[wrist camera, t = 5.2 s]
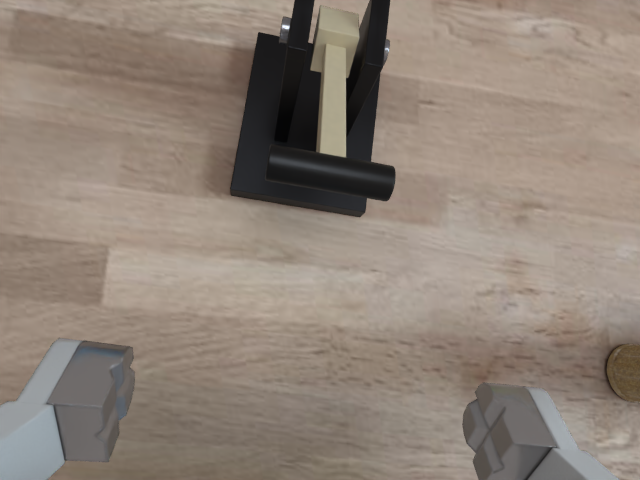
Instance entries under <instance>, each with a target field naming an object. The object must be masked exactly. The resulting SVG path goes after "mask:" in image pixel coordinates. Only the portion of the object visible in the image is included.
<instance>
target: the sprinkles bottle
mask: <svg viewBox="0 0 640 480" xmlns="http://www.w3.org/2000/svg"><path fill="white" fill-rule="evenodd" d="M607 375H608V378H609V382H610V384H611V386H612V388H613V390H614V391H615V392H616V394H618V395H619V396H620V397H621V398H623V399H625V400H627V401H630V402H635V403H640V345H636V344H624V345H621V346H619V347H618V348H616V349H615V350H614V351H613V352H612V354H611V355H610V357H609V359H608V364H607Z"/></svg>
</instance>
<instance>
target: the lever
mask: <svg viewBox="0 0 640 480" xmlns="http://www.w3.org/2000/svg"><path fill="white" fill-rule="evenodd" d="M358 41H359V17H358V14H357V13H352V12H348V11H343V10H339V9H335V8H330V7H326V6H320V8H319V14H318V19H317V24H316V29H315V34H314V39H313V44H312V53H311V64H310V70H312V71H317V72H321V86H320V101H319V116H318V132H317V147H316V152H314V151H308V150H303V149H297V148H292V147H286V146H281V145H275V144H271V145H270V149H269V155H268V162H267V168H266V175H265V180H266V181H271V182H277V183H283V184H289V185H294V186H300V187H306V188H312V189H317V190H323V191H329V192H335V193H341V194H346V195H352V196H358V197H364V198H369V199H375V200H381V201H388V200H389V198H390V197H391V194H392V192H393V189H394V184H395V168H394V167H393V166H390V165H384V164H379V163H373V162H368V161H362V160H357V159H352V158H346V78H348V77H349V74H350V70H351V66H352V63H353V59H354V55H355V52H356V48H357V44H358Z"/></svg>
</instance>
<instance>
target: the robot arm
mask: <svg viewBox="0 0 640 480" xmlns="http://www.w3.org/2000/svg"><path fill="white" fill-rule="evenodd" d="M133 359H134V355H133V347H130V346H122V345H115V344H107V343H99V342H91V341H82V340H73V339H65V338H58V339H57V340H56V341H55V342H54V343H52V345H51V346H50V348H49V350H48V351H47V353H46V354H45V356H44V357H43V359H42V361H41V362H40V364H39V365H38V367H37V368H36V370H35V372H34V373H33V375H32V376H31V378H30V379H29V381H28V383H27V384H26V386H25V387H24V389H23V390H22V392H21V394H20V395H19V397H18V398H17V400H16V401H7V402H5V403H4V404H2V405H0V480H47V479H48V478H49V477H50V476H51V475H53V474H54V473H55V472H56V471H57V470H58V469H59V468H60V467H61V466H62V465H63V464H64V463H65V460H68V461H90V462H109V459H110V456H111V454H112V451H113V449H114V446H115V443H116V441H117V438H118V436H119V420H120V419H121V418H123V417H124V416H125V415H126V414H127V412H128V409H129V406H130V403H131V399H132V395H133V391H134V383H135V372H134V371H133V370H132V369H131V368H130V366H131V364H132V361H133ZM475 394H476V397H477V399H476V400H474V401H473V402H471V403H469V404H468V405H467V407H466V409H465V411H464V414H463V424H462V425H463V432H464V436H465V439H466V443H467V444H468V445H469V446H470V447H471V448H472V449H473V451H474V452H475V453H476V454H475V456H474V459H473V464H474V467H475V470H476V473H477V476H478V479H479V480H619V479H618V478H617V477H616V476H615V475H613V474H612V473H611V472H610V471H609V470H608V469H606V468H605V467H604V466H603V465H602V464H601V463H599V462H598V461H597V460H596V459H595V458H594V457H592V456H591V455H590V454H589V453H588V452H587V451H583V450H579V448H578V446H577V444H576V442H575V441H574V439H573V437H572V435H571V433H570V432H569V430H568V428H567V426H566V424H565V422H564V421H563V419H562V417H561V415H560V413H559V412H558V410H557V408H556V406H555V404H554V403H553V401H552V399H551V397H550V395H549V394H548V392H547V391H545V390H544V389H543V388H535V387H525V386H517V385H506V384H495V383H482V384H480V385H479V386H478V388H477V389H476V391H475Z"/></svg>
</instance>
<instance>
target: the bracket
mask: <svg viewBox="0 0 640 480" xmlns="http://www.w3.org/2000/svg"><path fill="white" fill-rule="evenodd" d="M313 6H314V0H295V2H294V8H293V14H292V18H288V17H283V19H282V24H281V31H280V37H279V36H274V35H270V34H265V33H260V32H259V33H258V37H257V43H256V49H255V54H254V60H253V65H252V71H251V77H250V82H249V88H248V93H247V99H246V104H245V110H244V116H243V121H242V127H241V132H240V138H239V144H238V149H237V155H236V160H235V166H234V172H233V177H232V183H231V188H230V189H231V195H232V196H238V197H244V198H250V199H256V200H262V201H268V202H274V203H280V204H286V205H292V206H298V207H304V208H310V209H316V210H322V211H328V212H334V213H340V214H346V215H352V216H358V217H361V216H362V215H363V214H364V213H365V211H366V201H367V198H364V197H358V196H352V195H346V194H341V193H335V192H329V191H323V190H317V189H312V188H306V187H300V186H294V185H289V184H283V183H277V182H271V181H266V180H265V175H266V168H267V162H268V155H269V149H270V145H271V144H275V145H281V146H286V147H292V148H297V149H303V150H308V151H314V152H316V147H317V132H318V116H319V101H320V86H321V72H317V71H312V70H310V64H311V53H312V44H311V43H308V40H309V33H310V26H311V20H312V13H313ZM389 6H390V0H370V1H369V4H368V6H367V9H366V12H365V14H364V17H363V20H362V23H361V25H360V28H359V41H358V44H357V48H356V52H355V55H354V59H353V63H352V66H351V70H350V74H349V77H348V78H346V158H352V159H357V160H362V161H368V162H371V155H372V146H373V137H374V127H375V118H376V109H377V99H378V90H379V81H380V72H381V70H382V68H383V65H384V64H385V62H386V60H387V56H388V52H389V47H390V41H389V40H388V39H386V35H387V25H388V16H389Z"/></svg>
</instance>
